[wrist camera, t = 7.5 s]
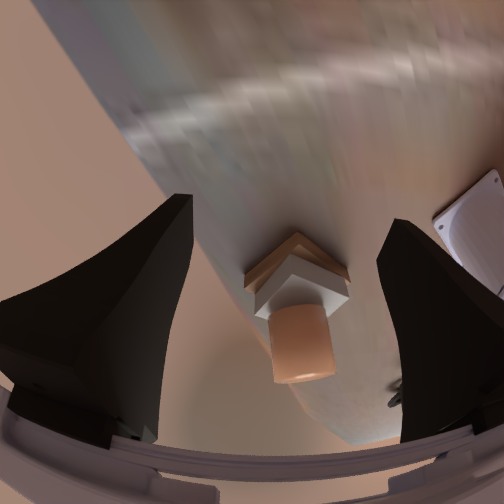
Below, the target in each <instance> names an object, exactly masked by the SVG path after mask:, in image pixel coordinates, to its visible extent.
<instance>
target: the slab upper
mask: <svg viewBox="0 0 504 504" xmlns="http://www.w3.org/2000/svg"><path fill="white" fill-rule="evenodd" d="M348 299H349V294H348V290H347V286H346V282H345V278H343V277H341V276H339V275H337V274H335V273H333V272H330V271H328V270H326V269H324V268H322V267H319V266H317V265H315V264H313V263H311V262H309V261H306V260H304V259H302V258H300V257H297V256H295V255H293V254H291V253H290V254H289V255H288V257H287V258H286V259H285V260H284V261H283V262H282V264H281V265H280V266H279V267H278V268H277V270H276V271H275V272H274V273H273V274H272V276H271V277H270V278H269V279H268V280H267V281H266V283H265V284H264V285H263V286H262V287H261V288H260V290H259V291H258V292H257V293H256V294H255V311H254V315H255V316H258V317H261V318H264V319H267V320H268V317H269V315H271V314H272V313H273V312H275V311H277V310H280V309H283V308H286V307H290V306H295V305H304V304H314V305H320V306H323V307H324V308H325V309H326V314H327V317H328V316H329V315H331V314H332V313H333V312H334V311H335V310H336V309H337V308H339V307H340V306H341V305H342V304H343V303H344V302H345V301H347V300H348Z"/></svg>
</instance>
